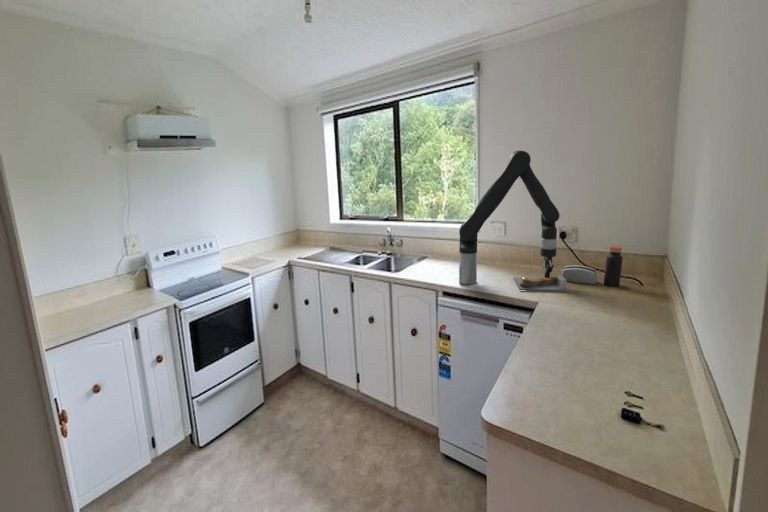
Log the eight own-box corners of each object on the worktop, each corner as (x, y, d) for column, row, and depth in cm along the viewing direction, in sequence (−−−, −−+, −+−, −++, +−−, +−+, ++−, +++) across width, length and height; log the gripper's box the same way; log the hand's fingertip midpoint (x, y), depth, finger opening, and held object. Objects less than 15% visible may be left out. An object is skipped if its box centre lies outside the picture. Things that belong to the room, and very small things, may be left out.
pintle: (522, 281, 185) (522, 278, 185) (521, 279, 188) (521, 277, 187) (528, 281, 185) (528, 278, 184) (527, 279, 187) (527, 277, 187)
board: (519, 291, 184) (519, 288, 184) (514, 279, 201) (514, 277, 201) (566, 292, 180) (567, 289, 180) (557, 280, 197) (557, 278, 197)
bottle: (605, 282, 190) (610, 244, 185) (620, 284, 186) (625, 246, 181) (601, 285, 186) (606, 247, 181) (617, 288, 181) (622, 249, 176)
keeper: (559, 289, 180) (559, 280, 179) (555, 284, 187) (556, 275, 186) (565, 289, 180) (566, 280, 179) (561, 284, 187) (562, 275, 185)
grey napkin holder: (596, 281, 193) (598, 265, 187) (596, 286, 189) (597, 271, 184) (561, 277, 201) (562, 262, 196) (560, 282, 198) (561, 267, 193)
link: (523, 287, 184) (523, 283, 184) (518, 284, 189) (518, 280, 188) (560, 283, 188) (560, 278, 187) (555, 280, 192) (555, 276, 191)
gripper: (537, 243, 194) (536, 274, 199) (543, 250, 181) (542, 283, 186) (552, 243, 193) (551, 274, 197) (560, 249, 180) (558, 283, 185)
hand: (547, 278), depth 192 cm, fingers closed
